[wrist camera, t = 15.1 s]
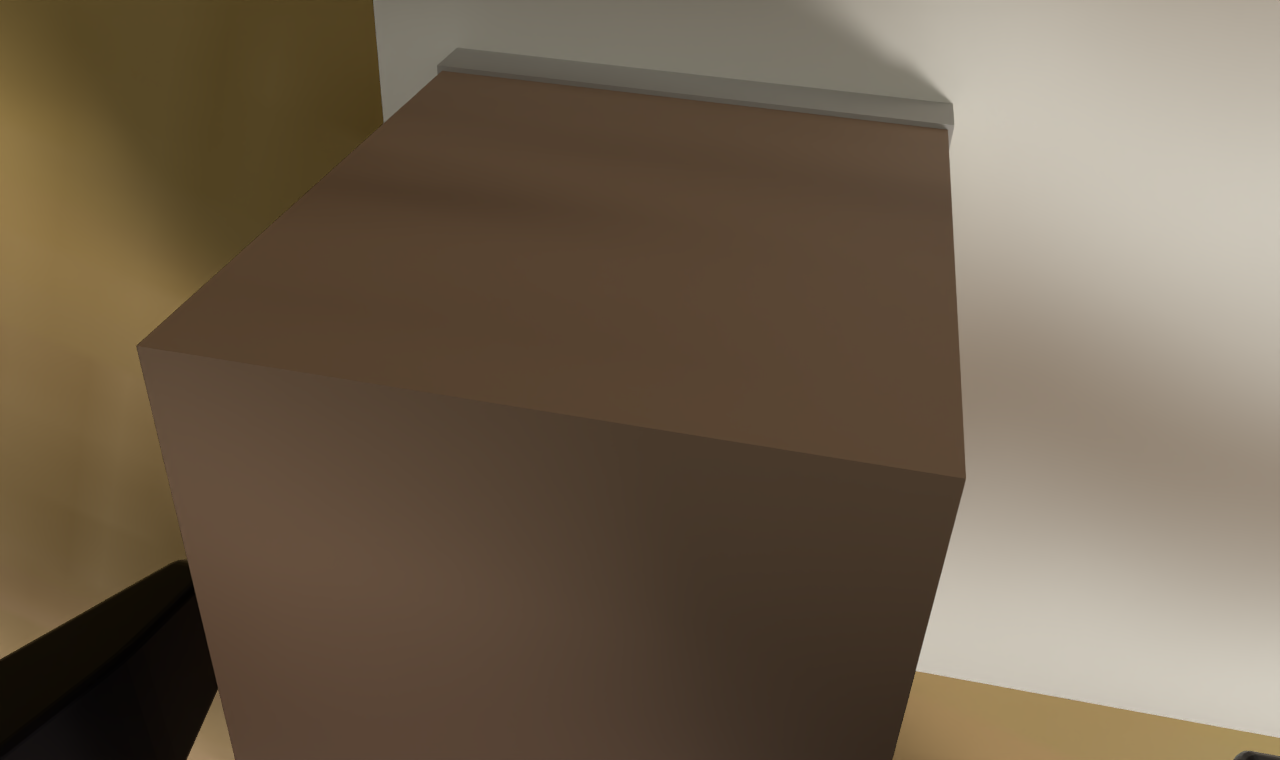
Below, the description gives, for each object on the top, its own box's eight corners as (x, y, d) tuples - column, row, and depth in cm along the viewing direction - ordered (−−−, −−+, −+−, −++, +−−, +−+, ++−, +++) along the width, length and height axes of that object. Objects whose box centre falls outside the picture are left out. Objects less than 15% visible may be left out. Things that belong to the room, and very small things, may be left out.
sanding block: (846, 619, 15) (810, 1093, 10) (480, 552, 16) (280, 966, 11) (952, 103, 11) (976, 473, 6) (456, 47, 12) (125, 337, 7)
